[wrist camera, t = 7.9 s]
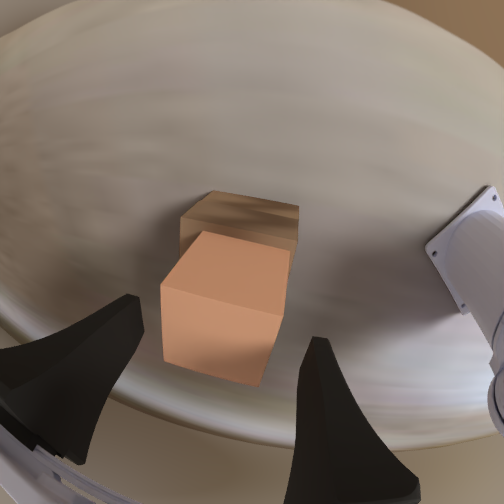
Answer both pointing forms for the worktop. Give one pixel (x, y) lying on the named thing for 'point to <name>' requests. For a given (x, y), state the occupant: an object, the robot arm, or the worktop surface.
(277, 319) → the terracotta block
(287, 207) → the tower base
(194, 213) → the tower top
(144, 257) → the worktop surface
